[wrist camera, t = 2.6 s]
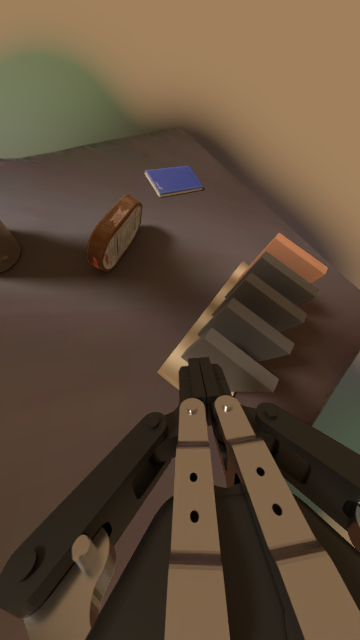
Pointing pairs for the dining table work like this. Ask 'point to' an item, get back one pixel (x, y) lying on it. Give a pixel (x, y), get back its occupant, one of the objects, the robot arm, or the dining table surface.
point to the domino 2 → (281, 279)
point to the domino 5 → (232, 363)
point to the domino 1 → (293, 259)
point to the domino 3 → (266, 304)
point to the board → (196, 332)
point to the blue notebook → (173, 180)
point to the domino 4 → (249, 332)
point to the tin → (114, 234)
